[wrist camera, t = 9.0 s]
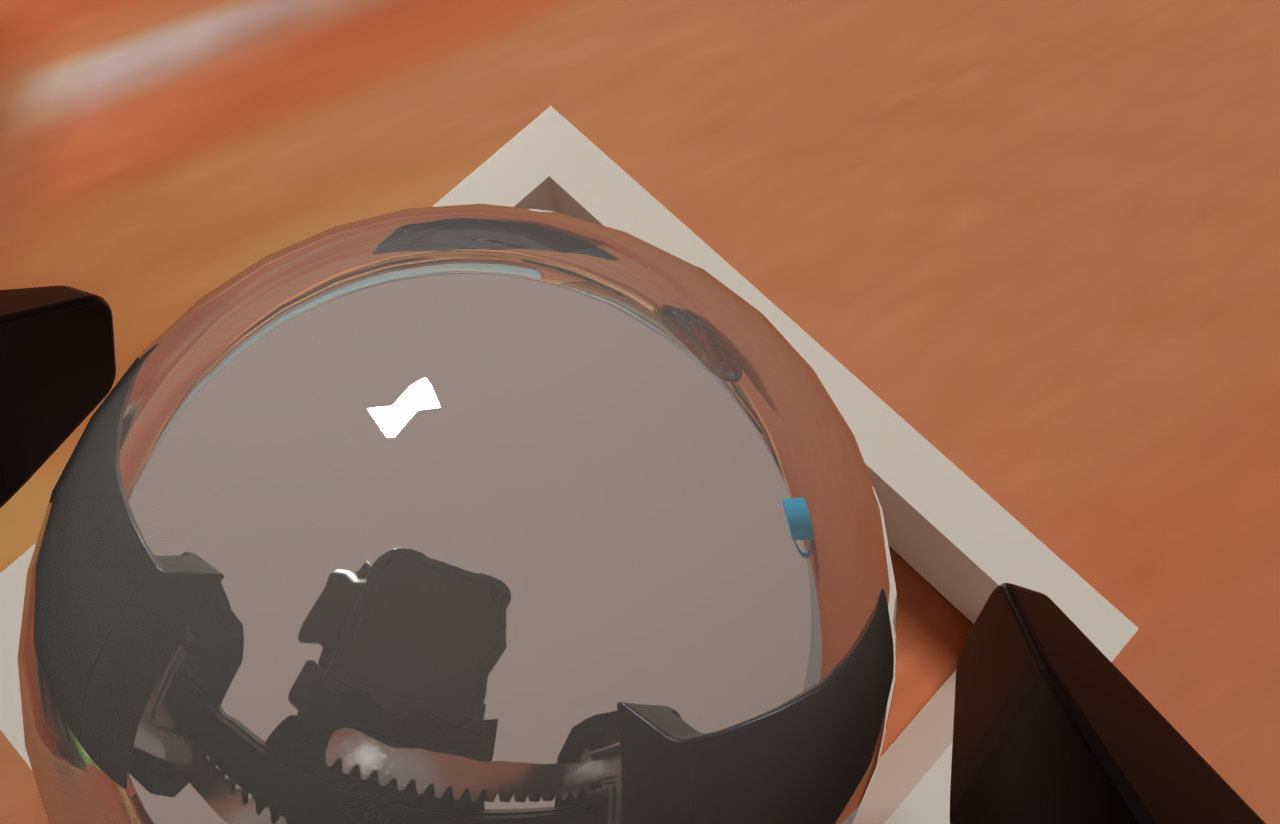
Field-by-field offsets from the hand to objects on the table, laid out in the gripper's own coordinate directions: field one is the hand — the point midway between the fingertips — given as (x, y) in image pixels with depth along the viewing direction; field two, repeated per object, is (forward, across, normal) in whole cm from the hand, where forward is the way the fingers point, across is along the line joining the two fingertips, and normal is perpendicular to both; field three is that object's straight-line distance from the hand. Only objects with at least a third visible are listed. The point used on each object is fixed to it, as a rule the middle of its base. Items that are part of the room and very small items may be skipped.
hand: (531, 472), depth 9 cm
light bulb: (+5, 0, +7) cm, 8 cm away
